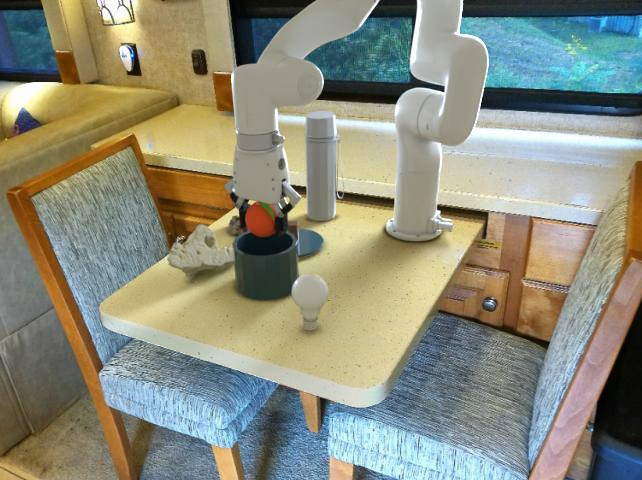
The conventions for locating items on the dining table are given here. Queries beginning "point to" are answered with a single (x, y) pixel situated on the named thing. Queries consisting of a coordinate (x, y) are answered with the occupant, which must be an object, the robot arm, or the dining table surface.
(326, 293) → the lightbulb
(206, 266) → the white coral rock
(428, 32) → the robot arm
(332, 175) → the water bottle
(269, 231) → the clementine
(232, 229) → the mineral rock
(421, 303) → the dining table surface
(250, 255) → the jar
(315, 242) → the jar lid
